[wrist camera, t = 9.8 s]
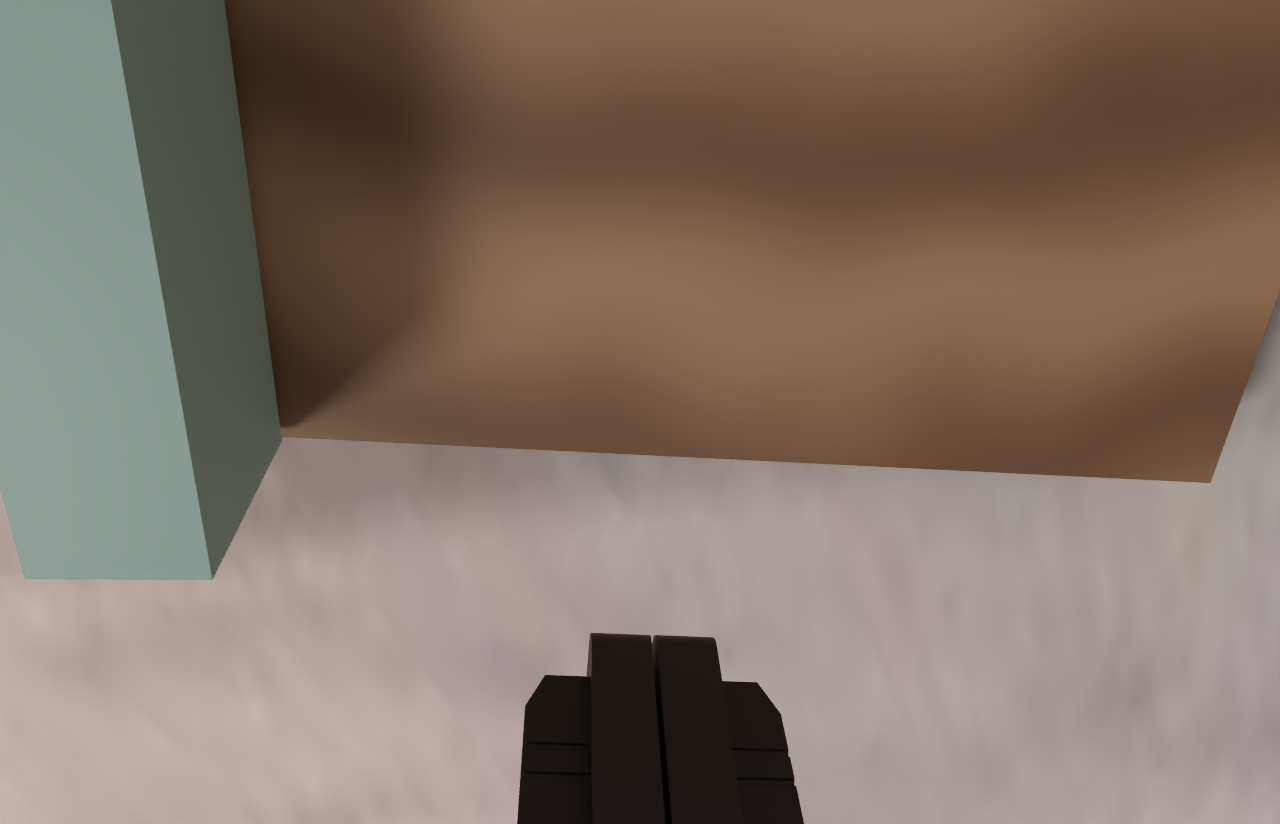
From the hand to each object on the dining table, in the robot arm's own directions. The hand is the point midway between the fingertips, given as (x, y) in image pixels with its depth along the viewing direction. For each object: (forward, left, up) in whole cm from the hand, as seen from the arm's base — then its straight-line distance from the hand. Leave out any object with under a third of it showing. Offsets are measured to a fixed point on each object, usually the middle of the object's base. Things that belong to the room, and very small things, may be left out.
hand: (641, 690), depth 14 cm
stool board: (-4, 0, -14) cm, 14 cm away
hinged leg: (-4, -9, -11) cm, 15 cm away
